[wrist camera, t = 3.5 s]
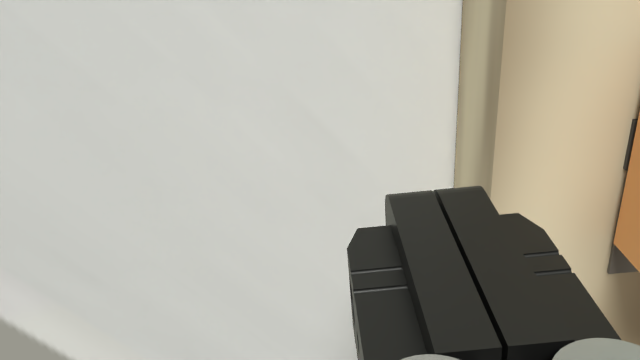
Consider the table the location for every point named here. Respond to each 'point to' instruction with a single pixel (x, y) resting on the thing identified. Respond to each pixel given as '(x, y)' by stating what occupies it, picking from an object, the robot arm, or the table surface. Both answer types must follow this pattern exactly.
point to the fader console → (556, 129)
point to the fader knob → (631, 208)
